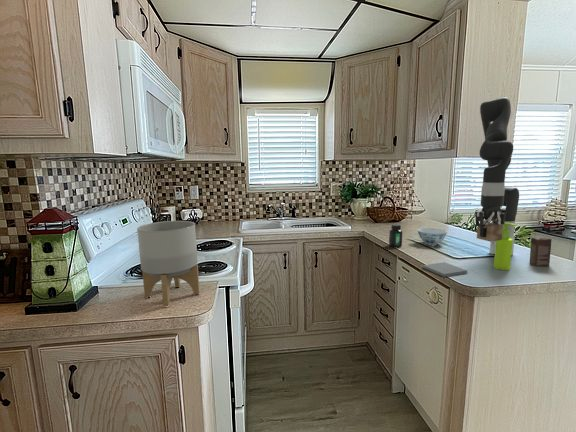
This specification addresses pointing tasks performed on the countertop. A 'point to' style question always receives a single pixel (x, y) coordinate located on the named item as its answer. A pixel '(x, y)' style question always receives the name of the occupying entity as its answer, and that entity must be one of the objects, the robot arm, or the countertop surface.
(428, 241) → the chinaware
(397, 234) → the supplement bottle
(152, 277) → the planter
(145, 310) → the countertop surface
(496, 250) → the soap dispenser
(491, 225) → the walnut cube
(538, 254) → the box
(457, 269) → the slate tile
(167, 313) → the countertop surface
